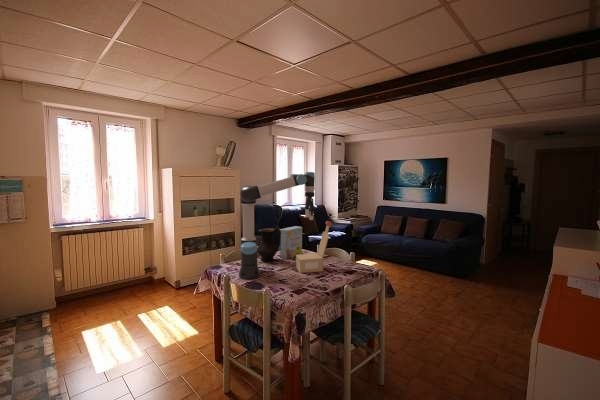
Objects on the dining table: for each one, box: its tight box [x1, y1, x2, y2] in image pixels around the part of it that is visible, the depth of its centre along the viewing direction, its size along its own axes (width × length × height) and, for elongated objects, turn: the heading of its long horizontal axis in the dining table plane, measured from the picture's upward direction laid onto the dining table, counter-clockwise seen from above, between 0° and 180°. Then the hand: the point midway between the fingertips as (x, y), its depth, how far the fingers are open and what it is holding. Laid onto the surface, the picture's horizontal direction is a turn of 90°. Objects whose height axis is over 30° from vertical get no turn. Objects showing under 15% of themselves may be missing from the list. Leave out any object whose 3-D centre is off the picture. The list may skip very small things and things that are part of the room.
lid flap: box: [317, 220, 333, 258], centre depth 223 cm, size 27×13×4 cm
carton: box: [295, 252, 324, 274], centre depth 221 cm, size 18×14×10 cm
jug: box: [257, 226, 281, 263], centre depth 241 cm, size 21×18×30 cm
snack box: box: [279, 225, 303, 260], centre depth 256 cm, size 22×9×26 cm, turn 143°
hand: (309, 218), depth 226 cm, fingers open, 13 cm apart
